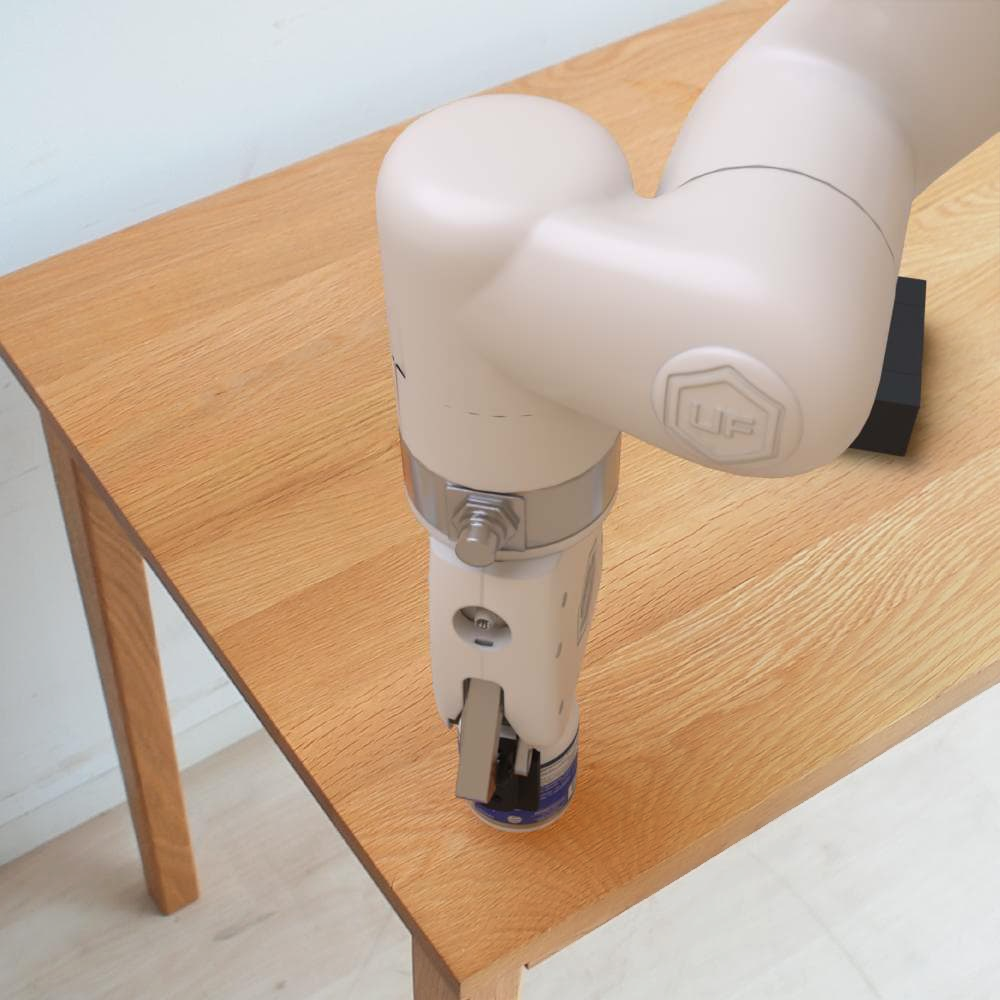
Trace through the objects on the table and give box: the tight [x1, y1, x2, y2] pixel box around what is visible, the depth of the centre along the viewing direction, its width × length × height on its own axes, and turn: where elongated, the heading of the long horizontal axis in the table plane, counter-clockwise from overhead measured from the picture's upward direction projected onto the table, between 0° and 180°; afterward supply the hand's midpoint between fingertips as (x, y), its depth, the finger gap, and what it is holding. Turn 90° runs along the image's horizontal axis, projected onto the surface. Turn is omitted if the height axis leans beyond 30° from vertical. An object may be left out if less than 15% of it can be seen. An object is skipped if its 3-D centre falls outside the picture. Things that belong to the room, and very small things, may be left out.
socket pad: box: [848, 275, 928, 457], centre depth 85 cm, size 11×11×4 cm
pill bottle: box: [456, 694, 580, 834], centre depth 62 cm, size 5×5×9 cm
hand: (518, 737), depth 63 cm, fingers closed on pill bottle, 5 cm apart
